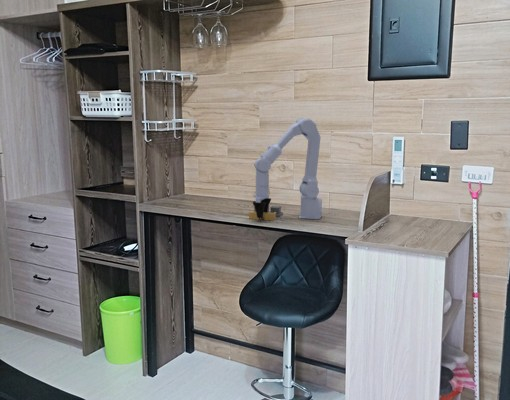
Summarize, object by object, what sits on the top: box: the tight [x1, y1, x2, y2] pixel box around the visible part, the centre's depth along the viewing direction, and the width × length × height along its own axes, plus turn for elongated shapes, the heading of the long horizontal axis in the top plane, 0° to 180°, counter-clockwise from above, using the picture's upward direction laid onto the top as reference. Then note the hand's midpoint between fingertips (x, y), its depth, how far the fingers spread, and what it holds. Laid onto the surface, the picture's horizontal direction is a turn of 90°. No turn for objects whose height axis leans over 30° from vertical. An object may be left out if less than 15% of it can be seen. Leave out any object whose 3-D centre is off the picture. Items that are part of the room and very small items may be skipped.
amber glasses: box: [248, 210, 276, 221], centre depth 229 cm, size 4×12×3 cm, turn 74°
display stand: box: [253, 205, 284, 218], centre depth 237 cm, size 7×13×5 cm, turn 74°
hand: (262, 216), depth 228 cm, fingers open, 7 cm apart
